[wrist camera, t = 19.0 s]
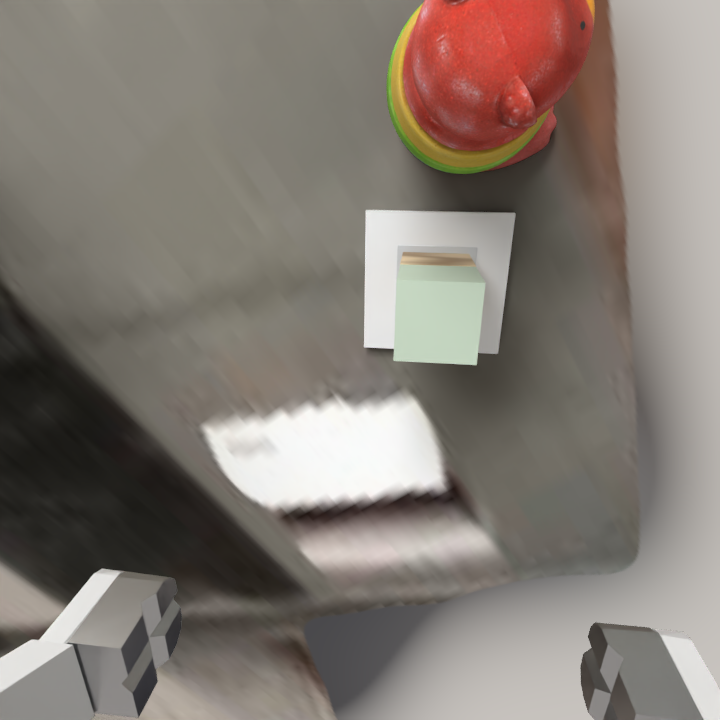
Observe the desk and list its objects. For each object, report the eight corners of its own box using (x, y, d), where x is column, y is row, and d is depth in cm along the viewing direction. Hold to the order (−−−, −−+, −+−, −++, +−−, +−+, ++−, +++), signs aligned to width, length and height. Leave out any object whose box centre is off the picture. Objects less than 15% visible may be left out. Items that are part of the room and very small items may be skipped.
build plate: (365, 344, 40) (363, 347, 39) (367, 209, 36) (365, 210, 35) (496, 350, 39) (498, 354, 38) (513, 212, 35) (515, 213, 34)
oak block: (400, 314, 38) (397, 334, 33) (402, 252, 36) (400, 263, 32) (463, 317, 37) (469, 337, 33) (468, 253, 36) (476, 265, 31)
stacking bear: (562, 140, 33) (702, 108, 17) (427, 205, 36) (433, 233, 19) (509, -28, 30) (617, -273, 13) (367, 57, 33) (311, -62, 16)
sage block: (397, 334, 33) (393, 360, 29) (400, 264, 32) (396, 280, 27) (468, 338, 33) (476, 365, 28) (476, 266, 31) (485, 282, 26)
